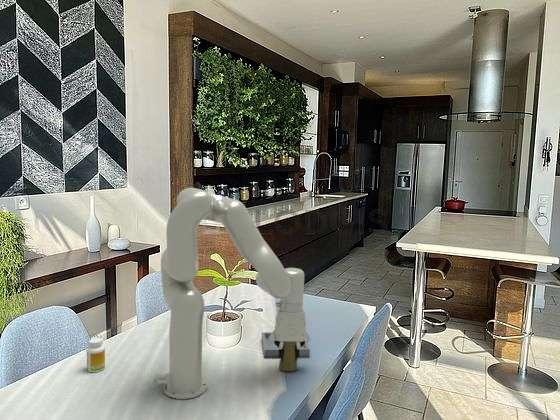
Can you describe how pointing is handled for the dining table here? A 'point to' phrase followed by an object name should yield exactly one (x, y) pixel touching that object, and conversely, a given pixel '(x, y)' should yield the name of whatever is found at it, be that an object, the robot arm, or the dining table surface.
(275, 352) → the tray
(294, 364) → the cork
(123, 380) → the dining table surface
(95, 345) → the supplement bottle
